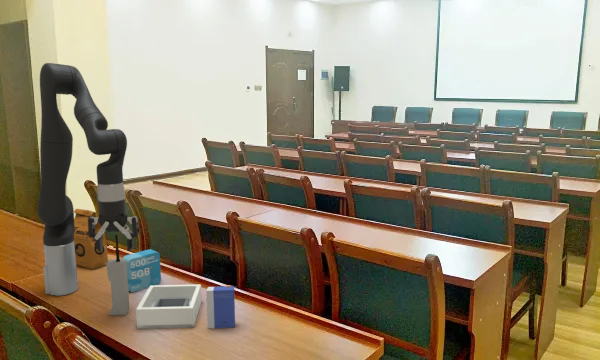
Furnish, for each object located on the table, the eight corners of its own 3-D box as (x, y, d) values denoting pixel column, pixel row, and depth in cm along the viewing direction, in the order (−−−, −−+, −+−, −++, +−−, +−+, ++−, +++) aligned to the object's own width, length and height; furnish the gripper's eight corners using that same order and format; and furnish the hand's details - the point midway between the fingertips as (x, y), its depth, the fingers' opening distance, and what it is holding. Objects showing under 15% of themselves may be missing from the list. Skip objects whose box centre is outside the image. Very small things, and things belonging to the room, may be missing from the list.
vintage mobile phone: (113, 310, 152) (107, 233, 148) (129, 309, 153) (124, 232, 148) (109, 316, 149) (103, 237, 144) (126, 315, 149) (121, 236, 144)
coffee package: (90, 272, 183) (85, 215, 179) (69, 265, 189) (64, 210, 185) (112, 264, 191) (108, 209, 187) (92, 258, 198) (88, 205, 193)
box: (137, 328, 141) (136, 309, 140) (151, 303, 158) (150, 285, 156) (193, 327, 142) (192, 308, 141) (201, 301, 159) (200, 284, 157)
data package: (129, 293, 165) (127, 259, 162) (123, 289, 168) (121, 256, 165) (161, 283, 173) (159, 251, 171) (154, 279, 176) (153, 248, 174)
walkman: (235, 322, 145) (234, 284, 142) (234, 327, 142) (233, 288, 140) (208, 324, 144) (206, 285, 142) (207, 328, 141) (205, 289, 139)
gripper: (81, 201, 140) (86, 255, 143) (132, 200, 141) (136, 254, 144) (91, 195, 147) (95, 246, 150) (139, 194, 148) (142, 246, 151)
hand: (115, 250), depth 147 cm, fingers open, 8 cm apart
